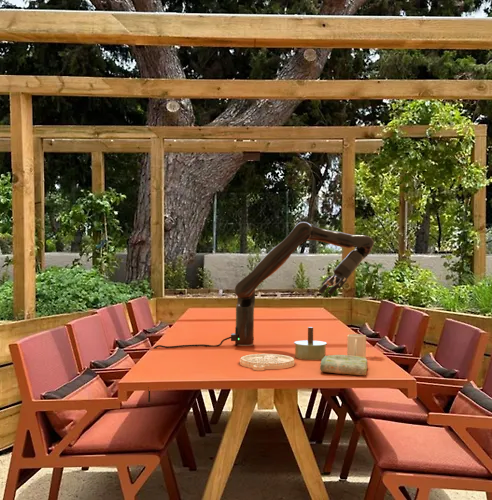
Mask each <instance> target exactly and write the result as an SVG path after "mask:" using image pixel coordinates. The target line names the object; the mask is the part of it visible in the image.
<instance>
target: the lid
mask: <svg viewBox="0 0 492 500" xmlns="http://www.w3.org/2000/svg"><path fill="white" fill-rule="evenodd" d="M293 344H294V346H295V345H300V346H325V345H326V346H327V344H328V343H327V342H326V341H322V340H314V327H313V326H307V339H304V340H295V341H293Z"/></svg>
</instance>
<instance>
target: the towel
mask: <svg viewBox="0 0 492 500" xmlns="http://www.w3.org/2000/svg"><path fill="white" fill-rule="evenodd" d="M320 360H321V359H320ZM368 367H369V366H368V358H367V357H366V358H365V357H361V356H349V355H347V354H328V355H325V356H324V358H323V359H322V360H321V361H320V367H319V369H320V372H322V373H328V374H329V373H330V374H339V375H341V374H342V375H350V376H351V375H352V376H366V375H367V371H368Z"/></svg>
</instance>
